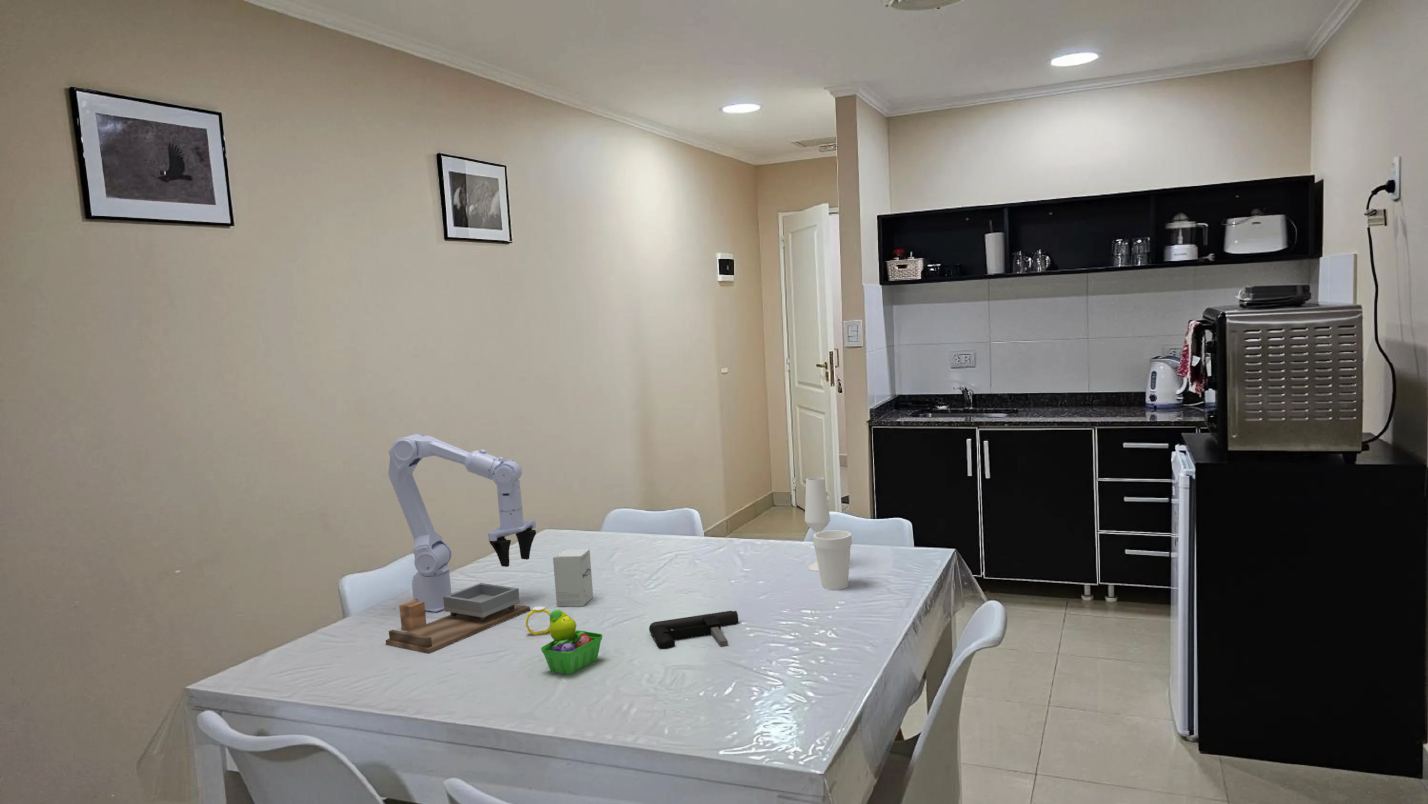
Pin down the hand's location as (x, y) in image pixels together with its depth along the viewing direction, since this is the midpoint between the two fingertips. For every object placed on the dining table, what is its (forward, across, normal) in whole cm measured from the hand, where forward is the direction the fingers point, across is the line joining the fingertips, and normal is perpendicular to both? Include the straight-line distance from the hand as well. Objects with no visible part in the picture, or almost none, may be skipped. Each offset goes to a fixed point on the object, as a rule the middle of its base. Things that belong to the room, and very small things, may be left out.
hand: (515, 562), depth 234 cm
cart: (+9, -12, 0) cm, 15 cm away
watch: (+11, -15, -22) cm, 28 cm away
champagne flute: (+11, +54, -58) cm, 80 cm away
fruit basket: (+11, -27, -42) cm, 51 cm away
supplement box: (+11, +6, -14) cm, 18 cm away
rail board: (+10, -19, 0) cm, 22 cm away
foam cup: (+11, +40, -68) cm, 80 cm away
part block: (+10, -24, +10) cm, 28 cm away
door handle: (+11, -3, -57) cm, 58 cm away
